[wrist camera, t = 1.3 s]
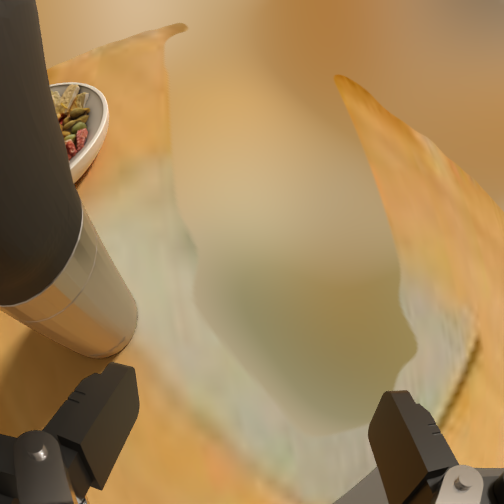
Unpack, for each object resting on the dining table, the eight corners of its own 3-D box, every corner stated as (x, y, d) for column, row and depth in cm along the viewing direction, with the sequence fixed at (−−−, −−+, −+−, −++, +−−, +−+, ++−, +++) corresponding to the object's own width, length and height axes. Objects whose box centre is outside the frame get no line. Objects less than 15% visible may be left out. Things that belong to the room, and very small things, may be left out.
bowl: (-33, 152, 37) (-48, 125, 30) (90, 85, 49) (84, 53, 42) (-32, 271, 28) (-63, 244, 21) (140, 172, 39) (132, 129, 33)
